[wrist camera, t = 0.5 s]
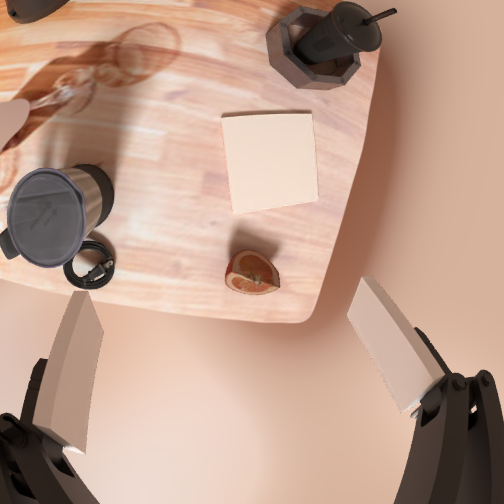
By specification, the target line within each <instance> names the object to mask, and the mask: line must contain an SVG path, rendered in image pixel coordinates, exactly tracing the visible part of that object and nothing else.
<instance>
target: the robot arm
mask: <svg viewBox="0 0 504 504" xmlns="http://www.w3.org/2000/svg"><path fill="white" fill-rule="evenodd" d="M5 1H6V6H7V11H8V14H9V16H10V17H11V18H12V19H13V20H14V21H16V22H17V23H21V24H25V23H31V22H34V21H37V20H39V19H42V18H44V17H46V16H48V15H49V14H51V13H53V12H54V11H56V10H57V9H59V8H60V7H62V6H63V5H64V4H65V3H67V2H68V1H69V0H5ZM347 317H348V319H349V320H350V322H351V324H352V326H353V327H354V329H355V330H356V332H357V334H358V336H359V337H360V339H361V341H362V343H363V344H364V346H365V348H366V350H367V351H368V353H369V355H370V357H371V359H372V360H373V362H374V364H375V366H376V368H377V369H378V371H379V373H380V375H381V377H382V379H383V380H384V382H385V384H386V386H387V388H388V390H389V391H390V393H391V395H392V397H393V399H394V401H395V403H396V405H397V407H398V408H399V411H400V413H402V412H405V411H407V410H408V409H411V408H413V406H415V405H416V404H417V403H418V402H419V401H420V403H421V405H420V406H419V407H418V408H417V409H416V410H415V411H414V412H413V413H412V414H411V416H410V417H411V418H412V417H413V416H414V415H416V414H417V413H418V415H417V416H416V417H415V419H417V420H416V426H415V431H414V436H413V441H412V444H411V449H410V453H409V457H408V460H407V464H406V468H405V471H404V475H403V478H402V481H401V484H400V487H399V490H398V493H397V496H396V498H395V501H394V504H504V420H503V415H502V410H501V405H500V401H499V397H498V393H497V389H496V385H495V381H494V378H493V376H492V375H491V373H490V372H488V371H487V370H480V371H479V373H478V374H477V375H476V376H475V377H468V378H465V377H464V376H463V375H461V374H459V373H452V372H451V371H450V370H449V368H448V367H447V365H446V364H445V362H444V361H443V359H442V358H441V356H440V355H439V353H438V352H437V350H436V349H434V346H433V345H432V343H430V340H429V339H428V338H427V336H426V335H425V334H424V333H423V332H422V331H421V330H420V329H418V328H417V327H415V328H413V327H412V325H411V324H410V323H409V321H408V320H407V319H406V317H405V316H404V314H403V313H402V312H401V311H400V309H399V308H398V307H397V305H396V304H395V303H394V302H393V300H392V299H391V297H390V296H389V295H388V294H387V293H386V291H385V290H384V289H383V287H382V286H381V285H380V284H379V282H378V281H377V280H376V279H375V278H374V276H366V277H362V278H361V280H360V283H359V286H358V288H357V291H356V293H355V296H354V298H353V301H352V304H351V306H350V308H349V311H348V313H347ZM103 334H104V331H103V329H102V326H101V324H100V321H99V319H98V316H97V314H96V311H95V309H94V306H93V303H92V301H91V298H90V295H89V293H88V291H74V292H73V294H72V297H71V299H70V301H69V304H68V307H67V309H66V311H65V314H64V316H63V319H62V322H61V324H60V327H59V329H58V332H57V335H56V337H55V340H54V343H53V346H52V349H51V352H50V355H49V358H48V359H42V358H40V359H39V361H38V362H37V363H36V365H35V366H34V368H33V371H32V374H31V377H30V379H31V380H30V381H29V384H28V389H27V392H26V396H25V400H24V404H23V408H22V413H21V417H20V420H18V419H17V418H16V417H15V416H13V415H12V414H10V413H4V414H1V415H0V504H100V503H99V502H98V501H97V500H96V498H95V497H94V496H93V495H92V493H91V492H90V491H89V490H88V489H87V487H86V485H85V484H84V483H83V481H82V480H81V479H80V477H79V476H78V474H77V473H76V471H75V470H74V468H73V467H72V465H71V464H70V463H69V461H68V459H67V457H66V456H65V455H64V453H63V452H62V449H63V447H64V448H66V449H68V450H69V451H72V452H77V453H82V454H86V440H87V429H88V419H89V410H90V403H91V396H92V389H93V383H94V378H95V372H96V367H97V362H98V357H99V352H100V347H101V342H102V338H103ZM475 405H476V408H477V410H476V411H475V412H474V413H472V412H471V409H472V408H473V407H474V406H475Z"/></svg>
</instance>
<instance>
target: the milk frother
mask: <svg viewBox="0 0 504 504" xmlns="http://www.w3.org/2000/svg"><path fill="white" fill-rule="evenodd" d="M113 201H114V191H113V186H112V183H111V181H110V179H109V177H108V176H107V174H106V173H105V172H104V171H103V170H101V169H100V168H98V167H96V166H94V165H90V164H81V165H77V166H75V167H73V168H65V169H53V168H39V169H36V170H34V171H32V172H30V173H28V174H27V175H25V176H24V177H23V178H22V179H21V180H20V181H19V182H18V184H17V185H16V186H15V188H14V190H13V192H12V194H11V197H10V201H9V204H8V209H7V225H8V227H7V228H6V229H5V230H4V231H3V232H2V233H1V234H0V247H1V249H2V251H3V253H4V255H5V256H6V258H7V259H13V258H15V257H16V256H18V255H20V254H21V255H22V257H23V258H25V259H26V260H27V261H28V262H30V263H32V264H34V265H36V266H39V267H43V268H55V267H58V266H61V265H63V270H64V274H65V276H66V278H67V280H68V281H69V282H70V283H71V284H72V285H74V286H76V287H78V288H82V289H85V290H86V289H89V290H91V289H98V288H101V287H103V286H105V285H106V284H107V283H108V282H109V281H110V280H111V278H112V276H113V274H114V268H115V267H114V260H113V258H112V255H111V254H110V252H109V251H108V249H107V248H106V247H105V246H104V245H102V244H101V243H98V242H96V241H83V240H84V239H85V238H86V236H87V235H88V234H89V233H90V232H91V231H92V230H93V229H94V228H95V227H97V226H99V225H100V224H101V223H102V222H103V221H104V220H105V219H106V218H107V217H108V215H109V213H110V212H111V209H112V206H113ZM84 249H93V250H96V251H98V252H100V253H101V254H102V255H103V256H104V257H105V258H106V262H105V264H101V263H100V261H99V262H98V265H97V266H95V267H94V268H93V269H92V270H91V271H88V274H87V275H85V276H83V277H78V276H77V275H76V274H75V273H74V271H73V268H72V262H73V259H74V256H75V255H76V254H77V253H78V252H79V251H81V250H84ZM103 273H104V276H103V277H101V278H99V279H97V280H95V281H94V278H96V277H98V276H100V275H102V274H103ZM91 280H93V281H91Z"/></svg>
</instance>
